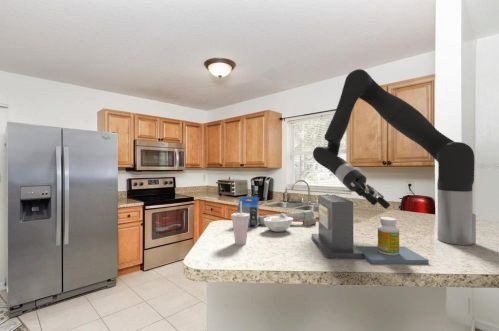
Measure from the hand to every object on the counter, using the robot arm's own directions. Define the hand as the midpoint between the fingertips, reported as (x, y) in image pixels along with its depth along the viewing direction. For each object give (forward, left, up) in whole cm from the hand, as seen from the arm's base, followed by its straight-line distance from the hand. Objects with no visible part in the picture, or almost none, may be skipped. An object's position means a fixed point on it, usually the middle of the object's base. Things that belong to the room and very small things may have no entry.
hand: (382, 205), depth 87 cm
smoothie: (+48, +2, -12) cm, 50 cm away
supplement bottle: (+5, +14, -11) cm, 19 cm away
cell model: (+34, -14, -13) cm, 39 cm away
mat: (+5, +14, -12) cm, 19 cm away
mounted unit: (+18, +6, -12) cm, 23 cm away
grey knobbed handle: (+29, -24, -13) cm, 40 cm away
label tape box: (+46, -22, -13) cm, 53 cm away
